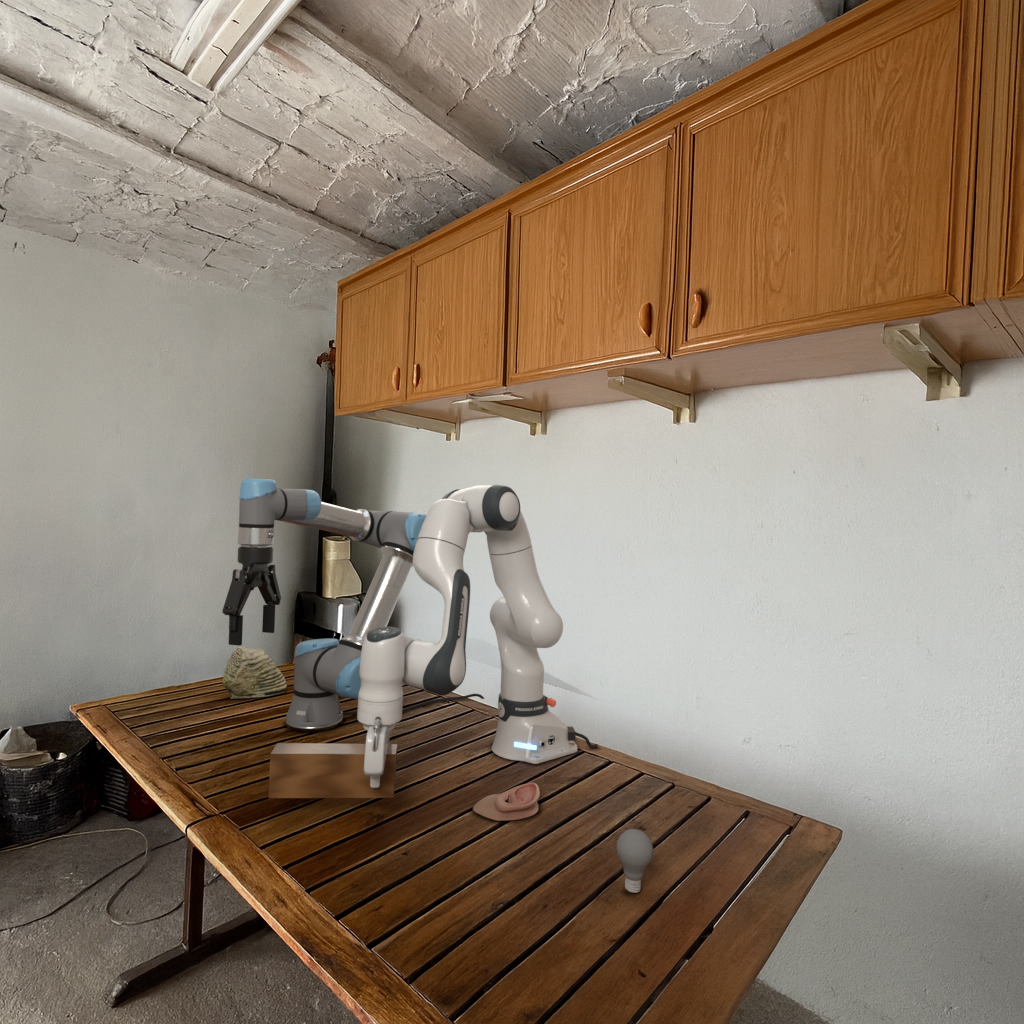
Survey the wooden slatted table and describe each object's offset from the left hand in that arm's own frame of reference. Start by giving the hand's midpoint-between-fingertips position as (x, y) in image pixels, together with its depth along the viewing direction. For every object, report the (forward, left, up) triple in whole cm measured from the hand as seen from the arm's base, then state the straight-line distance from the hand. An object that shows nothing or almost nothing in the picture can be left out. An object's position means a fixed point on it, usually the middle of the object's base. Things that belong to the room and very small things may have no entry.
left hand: (252, 638), depth 145 cm
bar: (0, +32, -25) cm, 41 cm away
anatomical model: (-27, +55, -30) cm, 68 cm away
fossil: (-29, -48, -30) cm, 63 cm away
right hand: (-6, +38, -23) cm, 44 cm away
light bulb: (-19, +88, -30) cm, 95 cm away
